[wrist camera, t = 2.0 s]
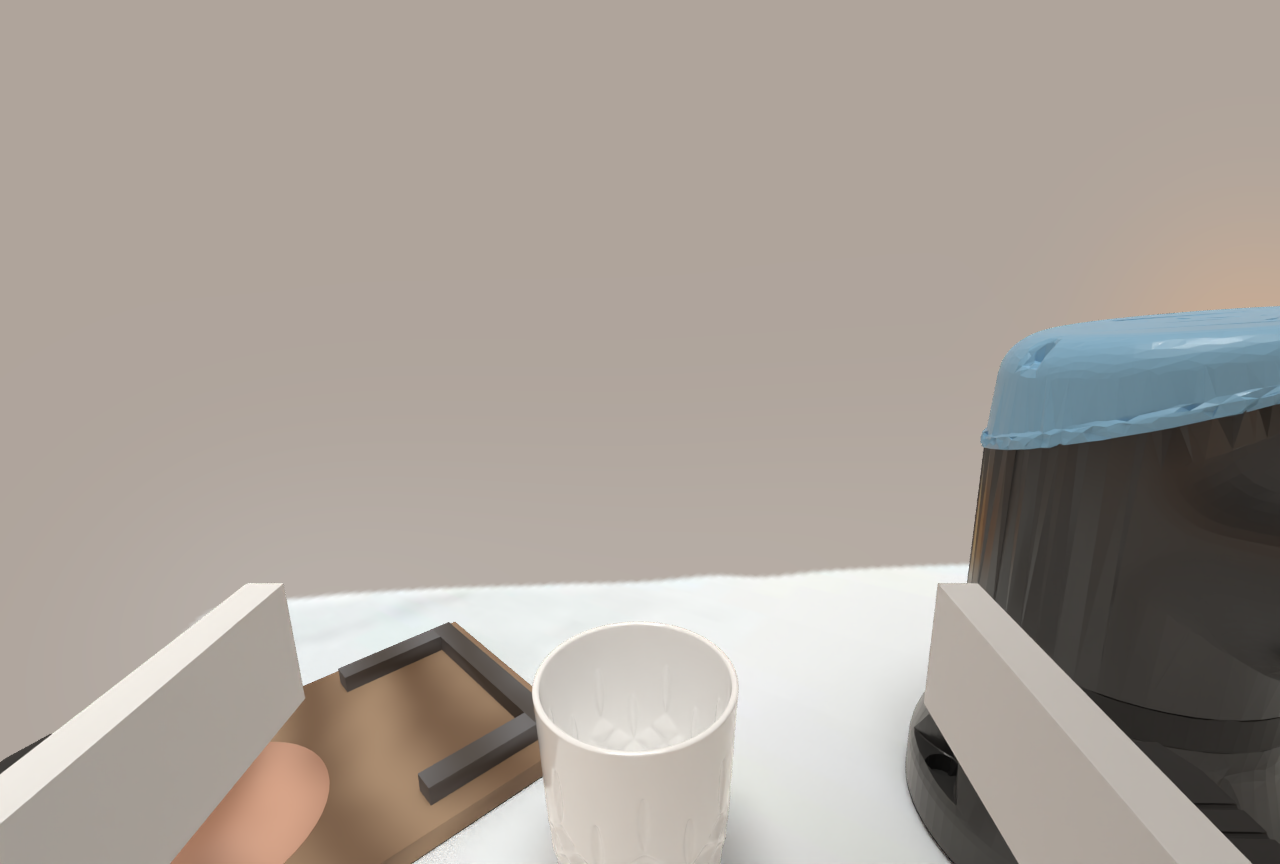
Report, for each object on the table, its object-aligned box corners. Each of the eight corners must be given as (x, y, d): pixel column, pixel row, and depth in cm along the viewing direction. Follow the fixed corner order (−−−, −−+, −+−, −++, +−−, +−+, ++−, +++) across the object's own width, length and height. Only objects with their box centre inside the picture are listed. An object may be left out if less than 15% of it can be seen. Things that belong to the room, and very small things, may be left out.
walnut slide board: (456, 634, 45) (453, 609, 44) (586, 746, 34) (585, 715, 33) (36, 818, 30) (25, 784, 30) (35, 1113, 20) (17, 1069, 19)
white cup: (511, 874, 27) (492, 675, 24) (645, 775, 32) (641, 601, 29) (632, 1033, 21) (625, 796, 19) (771, 882, 26) (781, 679, 24)
